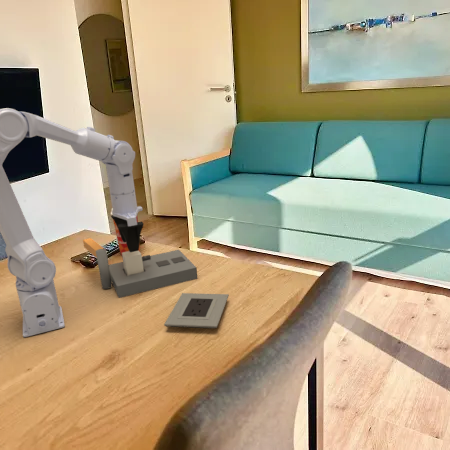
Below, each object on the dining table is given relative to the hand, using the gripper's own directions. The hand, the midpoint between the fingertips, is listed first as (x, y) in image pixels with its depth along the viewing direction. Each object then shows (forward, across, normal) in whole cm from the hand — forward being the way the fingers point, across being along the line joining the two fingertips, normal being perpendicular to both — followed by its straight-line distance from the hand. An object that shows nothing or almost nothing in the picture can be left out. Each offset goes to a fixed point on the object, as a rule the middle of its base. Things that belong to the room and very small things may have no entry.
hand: (130, 246), depth 107 cm
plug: (+9, 0, -1) cm, 9 cm away
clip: (+9, +5, +8) cm, 13 cm away
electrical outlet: (+10, -24, -8) cm, 27 cm away
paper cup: (+10, +20, -3) cm, 22 cm away
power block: (+9, 0, -4) cm, 10 cm away
